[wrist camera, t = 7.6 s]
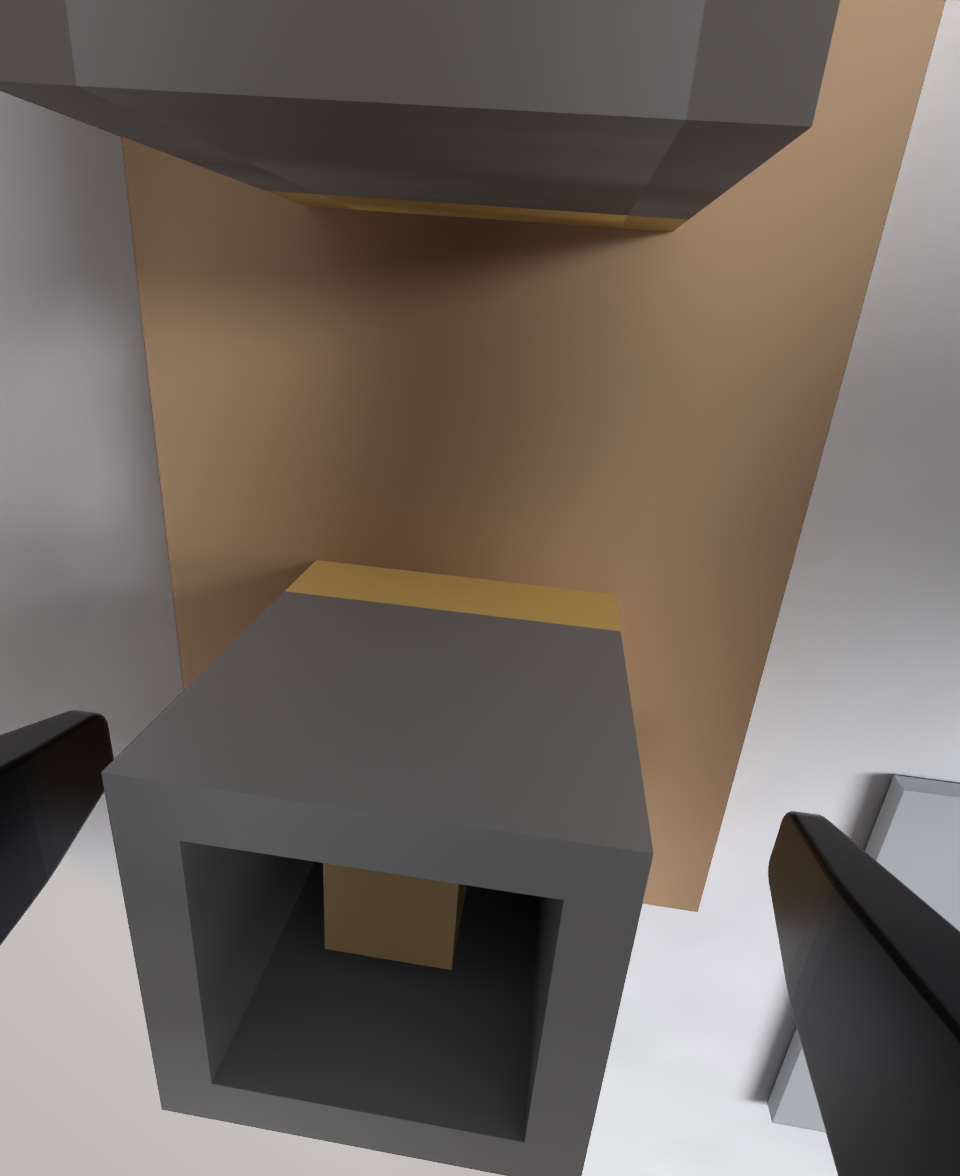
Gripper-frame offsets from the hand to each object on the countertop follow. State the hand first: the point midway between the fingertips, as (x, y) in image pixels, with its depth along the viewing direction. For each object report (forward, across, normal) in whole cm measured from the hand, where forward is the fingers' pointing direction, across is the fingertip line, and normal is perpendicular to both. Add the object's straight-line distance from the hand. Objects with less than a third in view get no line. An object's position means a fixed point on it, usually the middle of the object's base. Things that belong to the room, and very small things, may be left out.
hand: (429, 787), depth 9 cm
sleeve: (+2, 0, 0) cm, 2 cm away
